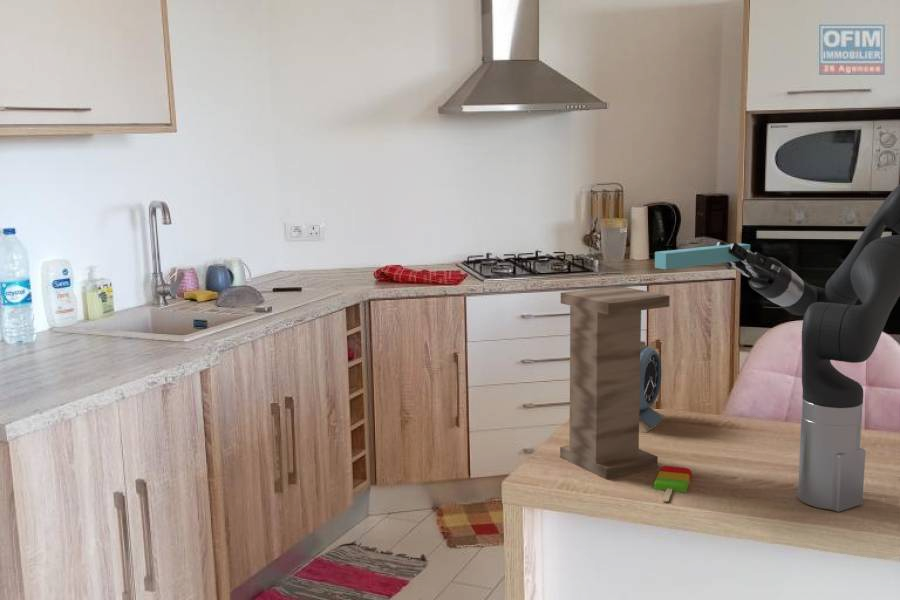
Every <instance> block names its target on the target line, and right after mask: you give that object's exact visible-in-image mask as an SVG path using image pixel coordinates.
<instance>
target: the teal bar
mask: <svg viewBox="0 0 900 600" xmlns="http://www.w3.org/2000/svg"><path fill="white" fill-rule="evenodd" d="M737 244H738V245H740V246H741V247H742V248H744V249H745V250H750V251H751V244H748V243H740V242H739V243H737ZM730 245H731V243H730V244H727V245H718V246H716V245H711V246H700V247H690V248H683V249H682V248H681V249H674V250H673V249H672V250H671V249H670V250H669V249H668V250H661V251H655V252H654V268H655V269H660V270H671V269H672V270H673V269H680V268H681V269H683V268H689V267H699V266H706V265H715V264H723V263H726V262H734V261H742V260H739V259H737V258H736V257H735V256H733V255H732V254H730V253H729V248H730Z"/></svg>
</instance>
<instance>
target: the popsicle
mask: <svg viewBox="0 0 900 600" xmlns="http://www.w3.org/2000/svg"><path fill="white" fill-rule="evenodd" d="M691 479H692V469H690V468H688V467H684V466H683V467H682V466H672V465H663V466H661V467H660V469H659V472H658V474H657V477H656V478H655V479H654V480H655V481H654V483H653V489H654V490H659V491H665V492H664V495H663V497H662V502H663V503H669V501H670V498H671V496H672V493H673V492H676V493H684V494H685V493H687V492H688V487H689V485H690V482H691Z"/></svg>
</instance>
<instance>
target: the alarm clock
mask: <svg viewBox="0 0 900 600" xmlns="http://www.w3.org/2000/svg"><path fill="white" fill-rule="evenodd" d="M661 362H662V361H661V358H660V356H659V353H658V352H657V351H656V350H655V349H654V348H652V347H649V346H648V345H646V341H643V340H641V347H640V404H639V431H642V432H641V433H645V432H647V433H648V431H649V430H650V429H651V430H652V429H654V428H655V427H656V426H657V425H659V424H660V423H661V422H662V420H663V419H664V418H665V419H666V418H667V416H666V415H664V414H662V413H660V412H658V411H655V409H653V407H652V406H653V405H654V403H655V402H656V400H657V398H658V395H659V392H660V390H661V389H660V388H661V382H662V363H661ZM665 419H664V420H665ZM664 420H663V421H664ZM659 422H660V423H659ZM658 423H659V424H658ZM655 425H656V426H655ZM654 426H655V427H654ZM653 427H654V428H653ZM651 430H650V431H651ZM643 431H644V432H643ZM650 431H649V432H650Z"/></svg>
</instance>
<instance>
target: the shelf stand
mask: <svg viewBox="0 0 900 600" xmlns="http://www.w3.org/2000/svg"><path fill="white" fill-rule="evenodd" d="M560 304H563V305H566V306H569V311H570V312H569V313H570V314H569V318H570V319H569V444H568V445H562V446H560V447H559V457H560V458H561V459H562V460H566V461H567V462H570V463H572V464H574V465H576V466H577V467H580V468H582V469H585V470H586V471H588V472H590V473H593V474H595V475H597V476H598V477H601V478H603V479H605V480H609V479H612V478H616V477H617V478H618V477H622V476H625V475H630V474H633V473H638V472H642V471H647V470H651V469H654V468H659V467H658V466H659V465H658V463H659V462H658V460H659V459H658V458H659V457H658V456H657V455H655V454H653V453H650V452H649V451H646V450H643V449H641V448H640V447H639V446H640V445H639V444H640V443H639V442H640V432H639V404H640V347H641V341H642V340H641V339H642V332H641V329H642V311H648V310H655V309H662V308H669V307H670V295H668V294H664V293H663V294H662V293H658V292H652V291H648V290H647V291H646V290H641V289H637V288H633V287H627V286H621V285H615V286H608V287H607V286H606V287H600V288H599V287H598V288H589V289H581V290H573V291H572V290H571V291H564V292H563V291H562V292H560Z"/></svg>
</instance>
